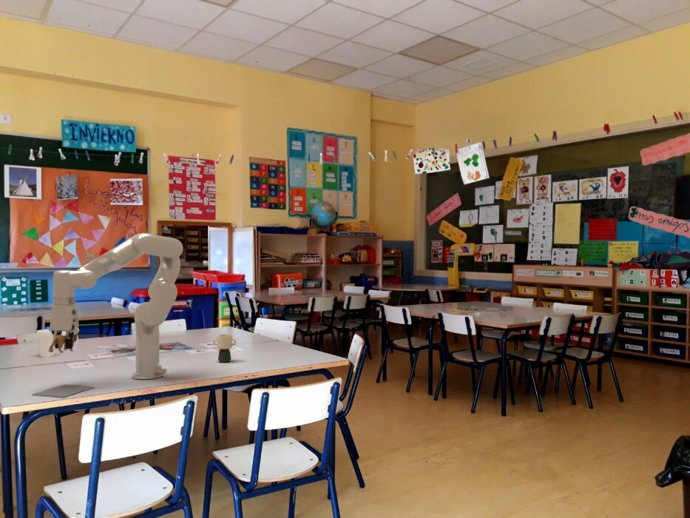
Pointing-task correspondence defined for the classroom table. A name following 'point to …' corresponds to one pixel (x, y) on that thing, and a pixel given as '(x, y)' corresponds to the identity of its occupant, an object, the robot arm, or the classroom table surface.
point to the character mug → (224, 346)
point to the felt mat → (63, 390)
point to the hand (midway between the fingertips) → (63, 347)
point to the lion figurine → (61, 342)
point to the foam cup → (45, 342)
